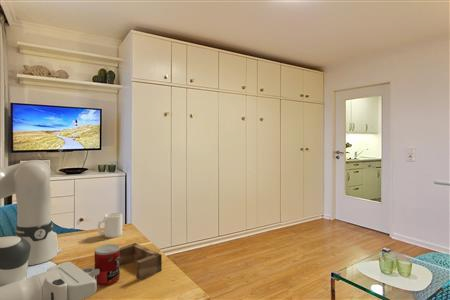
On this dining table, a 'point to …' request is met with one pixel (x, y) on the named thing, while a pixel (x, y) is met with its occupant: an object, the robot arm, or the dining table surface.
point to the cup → (111, 225)
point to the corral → (141, 259)
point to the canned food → (107, 264)
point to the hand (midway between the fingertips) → (97, 269)
